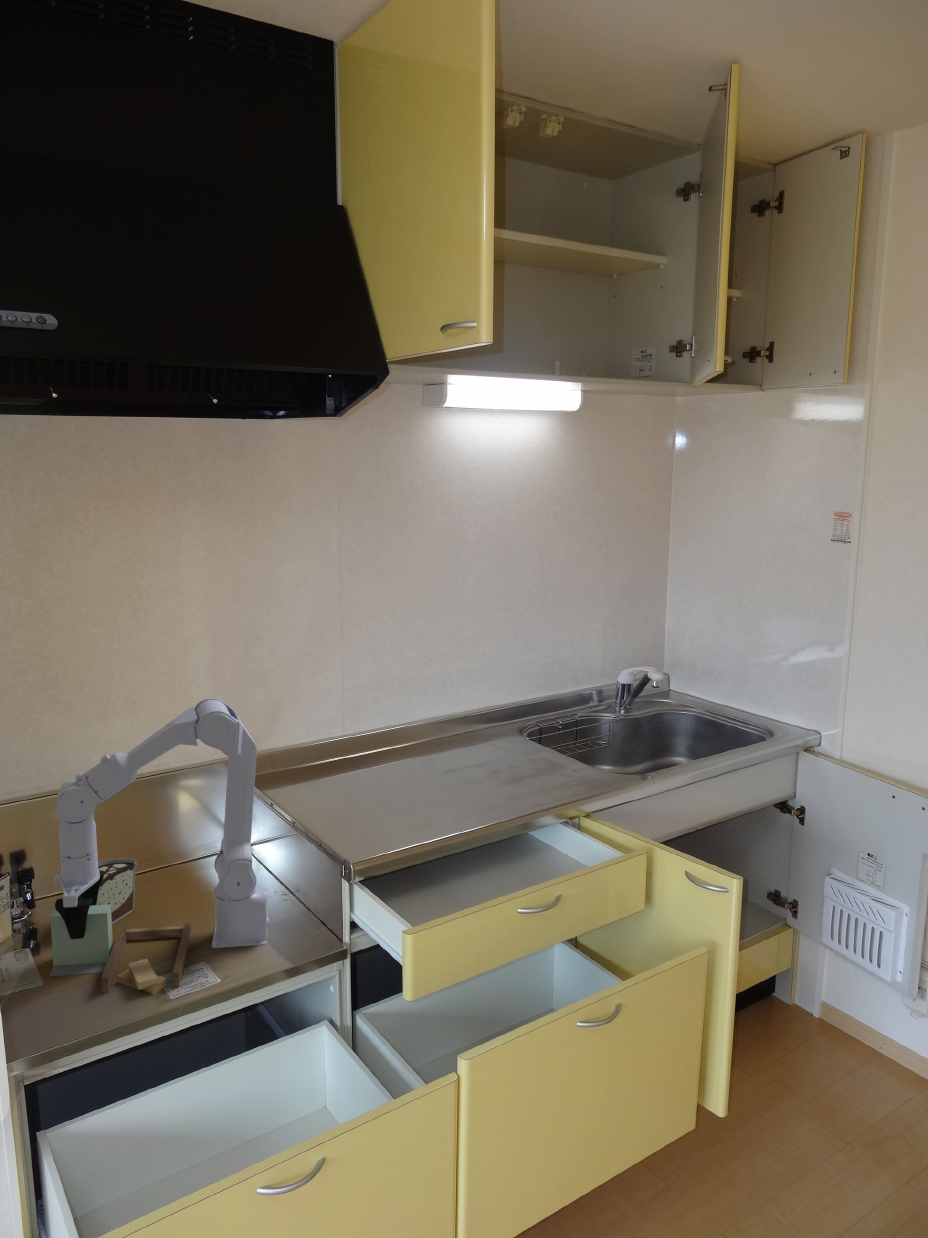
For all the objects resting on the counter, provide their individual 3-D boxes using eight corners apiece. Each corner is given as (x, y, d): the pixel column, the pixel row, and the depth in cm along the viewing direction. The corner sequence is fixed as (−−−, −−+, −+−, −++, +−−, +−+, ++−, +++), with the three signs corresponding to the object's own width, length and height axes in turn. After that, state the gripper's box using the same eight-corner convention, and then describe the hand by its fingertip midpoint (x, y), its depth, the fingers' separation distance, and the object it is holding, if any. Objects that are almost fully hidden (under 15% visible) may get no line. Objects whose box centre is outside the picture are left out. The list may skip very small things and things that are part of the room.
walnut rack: (191, 935, 162) (191, 920, 162) (179, 989, 146) (178, 972, 145) (122, 940, 160) (121, 924, 160) (101, 995, 144) (101, 978, 143)
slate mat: (117, 946, 158) (117, 943, 158) (106, 974, 149) (106, 971, 149) (63, 949, 157) (63, 947, 156) (49, 978, 148) (49, 976, 148)
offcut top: (157, 984, 144) (157, 977, 144) (138, 990, 143) (138, 983, 143) (147, 965, 150) (146, 958, 150) (128, 970, 148) (128, 963, 148)
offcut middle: (167, 984, 146) (166, 978, 146) (154, 994, 144) (153, 987, 144) (131, 973, 149) (131, 967, 149) (118, 982, 147) (117, 976, 147)
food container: (114, 900, 174) (111, 852, 173) (139, 907, 172) (137, 858, 170) (65, 930, 163) (62, 879, 161) (91, 937, 161) (88, 885, 159)
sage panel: (113, 952, 155) (110, 904, 154) (109, 962, 152) (107, 913, 151) (57, 956, 154) (55, 907, 152) (53, 966, 151) (50, 916, 149)
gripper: (64, 834, 156) (68, 906, 158) (41, 872, 142) (46, 950, 144) (107, 832, 157) (110, 904, 159) (87, 869, 143) (92, 947, 145)
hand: (82, 926), depth 152 cm, fingers open, 7 cm apart
